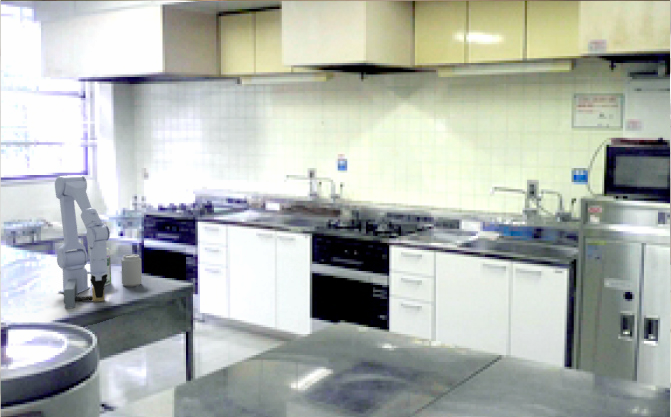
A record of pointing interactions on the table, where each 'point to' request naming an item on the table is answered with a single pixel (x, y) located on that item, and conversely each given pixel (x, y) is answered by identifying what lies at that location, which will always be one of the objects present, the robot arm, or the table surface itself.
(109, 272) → the syrup box
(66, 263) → the robot arm
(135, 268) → the can
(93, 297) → the plug
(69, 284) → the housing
